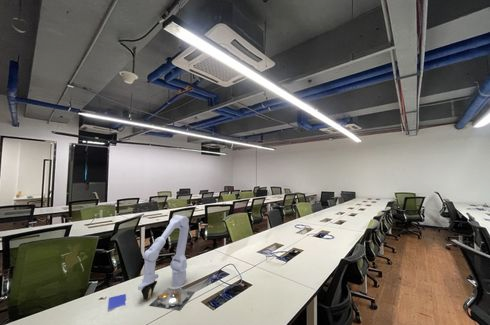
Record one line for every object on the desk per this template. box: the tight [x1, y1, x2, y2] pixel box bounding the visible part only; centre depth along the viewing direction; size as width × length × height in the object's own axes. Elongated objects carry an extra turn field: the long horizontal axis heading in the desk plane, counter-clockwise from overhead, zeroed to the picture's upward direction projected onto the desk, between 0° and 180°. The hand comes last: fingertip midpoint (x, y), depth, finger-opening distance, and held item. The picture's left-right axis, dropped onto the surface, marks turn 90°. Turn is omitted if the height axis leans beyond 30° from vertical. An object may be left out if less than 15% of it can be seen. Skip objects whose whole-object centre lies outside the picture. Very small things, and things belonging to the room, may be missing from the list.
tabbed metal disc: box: [156, 286, 191, 308], centre depth 112 cm, size 18×18×5 cm
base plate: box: [148, 287, 196, 312], centre depth 112 cm, size 18×18×1 cm
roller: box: [146, 288, 152, 301], centre depth 112 cm, size 3×3×6 cm
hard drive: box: [107, 293, 127, 313], centre depth 108 cm, size 2×8×12 cm
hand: (147, 297), depth 112 cm, fingers closed on roller, 3 cm apart
